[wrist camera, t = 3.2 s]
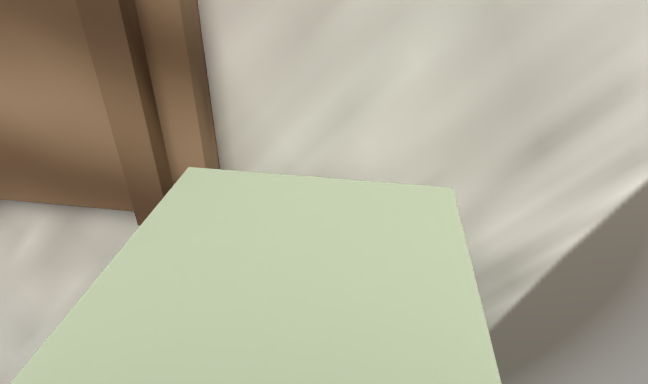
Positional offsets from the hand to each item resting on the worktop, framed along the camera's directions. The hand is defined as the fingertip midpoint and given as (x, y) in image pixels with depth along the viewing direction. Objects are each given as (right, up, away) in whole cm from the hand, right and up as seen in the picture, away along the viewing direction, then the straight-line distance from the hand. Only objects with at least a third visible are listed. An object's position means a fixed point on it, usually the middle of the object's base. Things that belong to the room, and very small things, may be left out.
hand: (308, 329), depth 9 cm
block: (0, +1, +1) cm, 1 cm away
